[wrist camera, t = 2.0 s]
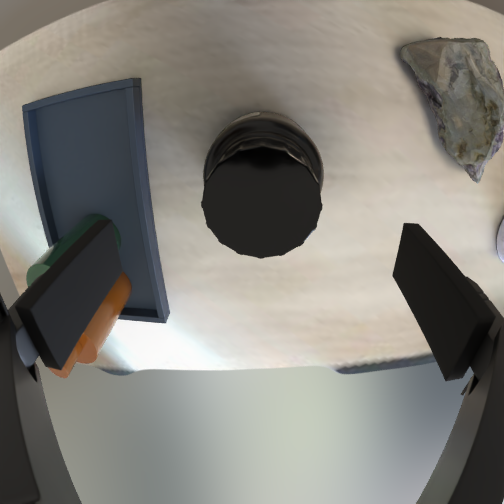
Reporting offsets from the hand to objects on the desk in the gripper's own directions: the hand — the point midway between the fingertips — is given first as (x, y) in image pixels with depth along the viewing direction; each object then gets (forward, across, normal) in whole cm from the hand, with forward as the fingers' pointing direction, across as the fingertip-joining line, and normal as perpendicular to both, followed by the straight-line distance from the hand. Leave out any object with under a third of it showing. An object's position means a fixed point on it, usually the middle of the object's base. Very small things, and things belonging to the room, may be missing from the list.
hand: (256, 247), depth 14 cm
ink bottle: (+17, 0, 0) cm, 17 cm away
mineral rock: (+17, +17, +7) cm, 25 cm away
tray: (+17, -18, -5) cm, 25 cm away
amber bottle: (+16, -18, -14) cm, 28 cm away
